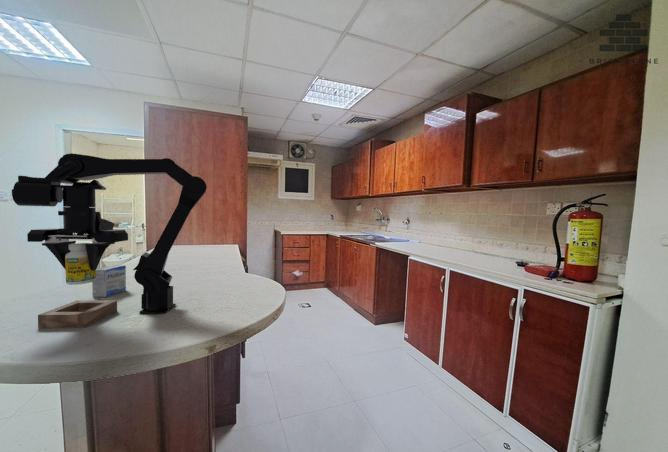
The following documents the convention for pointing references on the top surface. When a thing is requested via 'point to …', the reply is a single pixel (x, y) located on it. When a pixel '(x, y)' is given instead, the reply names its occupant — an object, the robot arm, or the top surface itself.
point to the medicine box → (109, 281)
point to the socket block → (77, 314)
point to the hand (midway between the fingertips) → (81, 270)
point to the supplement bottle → (78, 265)
